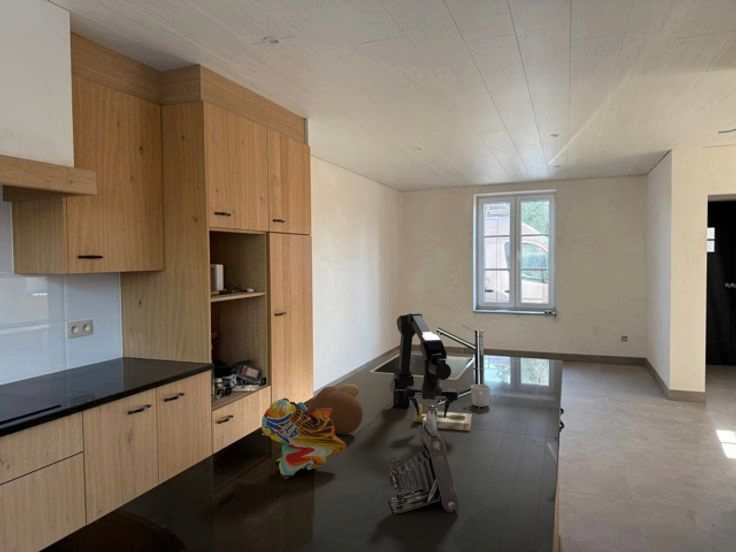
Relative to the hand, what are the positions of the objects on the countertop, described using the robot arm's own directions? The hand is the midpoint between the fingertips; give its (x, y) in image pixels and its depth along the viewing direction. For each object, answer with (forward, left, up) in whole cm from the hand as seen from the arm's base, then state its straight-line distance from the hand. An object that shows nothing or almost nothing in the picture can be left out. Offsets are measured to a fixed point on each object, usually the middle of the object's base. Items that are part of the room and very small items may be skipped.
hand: (431, 417), depth 182 cm
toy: (-33, -10, -5) cm, 35 cm away
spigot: (0, 0, -5) cm, 5 cm away
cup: (+15, +36, -5) cm, 39 cm away
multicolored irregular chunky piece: (-32, -42, -5) cm, 53 cm away
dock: (+4, +10, -5) cm, 12 cm away
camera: (+6, -56, -5) cm, 57 cm away
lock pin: (-5, +10, -5) cm, 12 cm away
